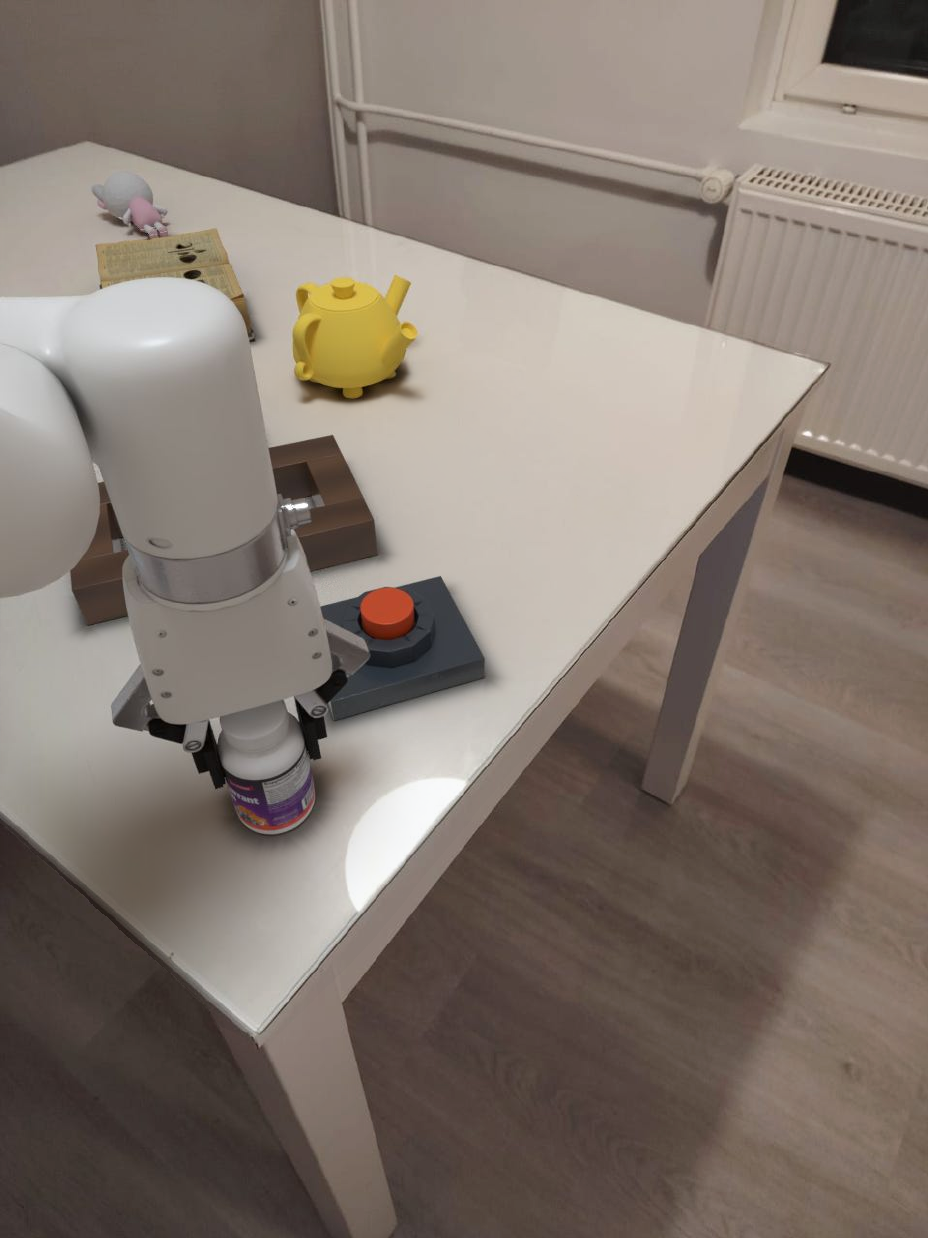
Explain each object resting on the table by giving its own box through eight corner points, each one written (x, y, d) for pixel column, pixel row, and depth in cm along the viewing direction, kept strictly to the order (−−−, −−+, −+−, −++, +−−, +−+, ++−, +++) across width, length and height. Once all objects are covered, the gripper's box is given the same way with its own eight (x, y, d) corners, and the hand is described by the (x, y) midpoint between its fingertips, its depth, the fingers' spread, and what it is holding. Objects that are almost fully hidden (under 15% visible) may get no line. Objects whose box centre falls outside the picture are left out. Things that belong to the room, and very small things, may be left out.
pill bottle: (221, 797, 59) (191, 706, 52) (289, 756, 62) (268, 664, 55) (262, 852, 56) (235, 763, 49) (331, 807, 59) (315, 716, 52)
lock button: (370, 646, 64) (368, 629, 63) (356, 611, 67) (354, 594, 66) (421, 632, 65) (420, 616, 64) (405, 598, 68) (404, 582, 67)
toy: (189, 254, 134) (141, 190, 137) (187, 216, 128) (137, 150, 131) (138, 268, 130) (91, 202, 134) (134, 229, 124) (84, 162, 128)
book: (257, 341, 106) (248, 293, 101) (116, 365, 102) (101, 316, 97) (224, 262, 122) (215, 218, 118) (102, 280, 118) (88, 235, 114)
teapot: (420, 405, 95) (416, 307, 87) (295, 412, 94) (279, 313, 86) (413, 343, 105) (408, 250, 98) (300, 348, 104) (286, 255, 97)
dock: (378, 555, 77) (374, 519, 75) (87, 625, 71) (71, 590, 68) (337, 468, 87) (333, 434, 84) (77, 524, 81) (63, 489, 78)
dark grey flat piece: (333, 721, 64) (327, 685, 61) (302, 630, 71) (295, 595, 68) (484, 677, 67) (485, 641, 64) (441, 594, 74) (440, 559, 71)
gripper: (353, 465, 48) (375, 681, 61) (24, 533, 44) (122, 750, 56) (394, 546, 43) (408, 763, 56) (27, 632, 39) (133, 846, 51)
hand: (264, 755), depth 56 cm, fingers closed on pill bottle, 5 cm apart
